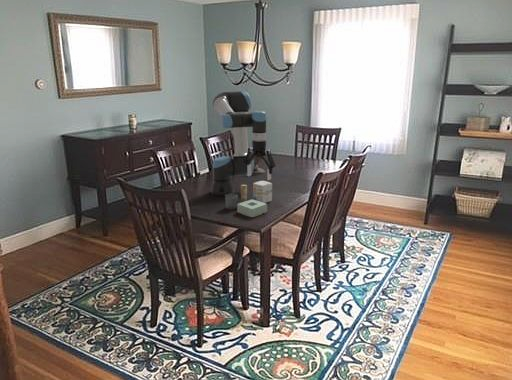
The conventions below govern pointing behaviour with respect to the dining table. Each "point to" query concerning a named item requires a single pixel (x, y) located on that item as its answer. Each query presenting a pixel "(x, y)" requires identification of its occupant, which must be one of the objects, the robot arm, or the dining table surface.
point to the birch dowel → (243, 193)
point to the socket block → (252, 208)
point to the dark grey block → (231, 201)
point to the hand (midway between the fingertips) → (259, 177)
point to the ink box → (262, 191)
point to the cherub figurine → (256, 169)
